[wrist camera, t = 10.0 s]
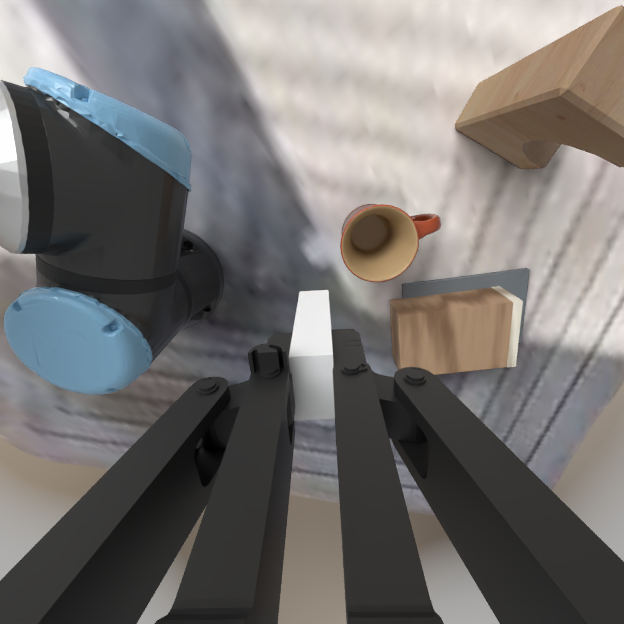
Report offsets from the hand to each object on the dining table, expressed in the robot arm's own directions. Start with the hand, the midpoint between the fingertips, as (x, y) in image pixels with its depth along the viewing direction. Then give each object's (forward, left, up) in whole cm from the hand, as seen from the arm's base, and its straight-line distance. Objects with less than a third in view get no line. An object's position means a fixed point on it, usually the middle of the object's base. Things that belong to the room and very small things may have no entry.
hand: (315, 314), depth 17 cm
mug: (+8, -1, -32) cm, 33 cm away
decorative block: (+24, +9, -31) cm, 41 cm away
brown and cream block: (+9, -17, -27) cm, 34 cm away
